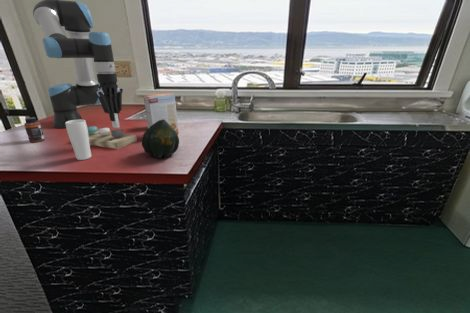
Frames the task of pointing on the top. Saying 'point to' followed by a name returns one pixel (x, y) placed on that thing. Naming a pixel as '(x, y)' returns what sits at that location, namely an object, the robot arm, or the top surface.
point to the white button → (104, 131)
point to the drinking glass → (79, 138)
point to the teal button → (92, 129)
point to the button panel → (111, 140)
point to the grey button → (117, 133)
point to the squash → (160, 139)
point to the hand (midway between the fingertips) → (116, 127)
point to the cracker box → (161, 109)
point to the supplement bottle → (33, 130)
